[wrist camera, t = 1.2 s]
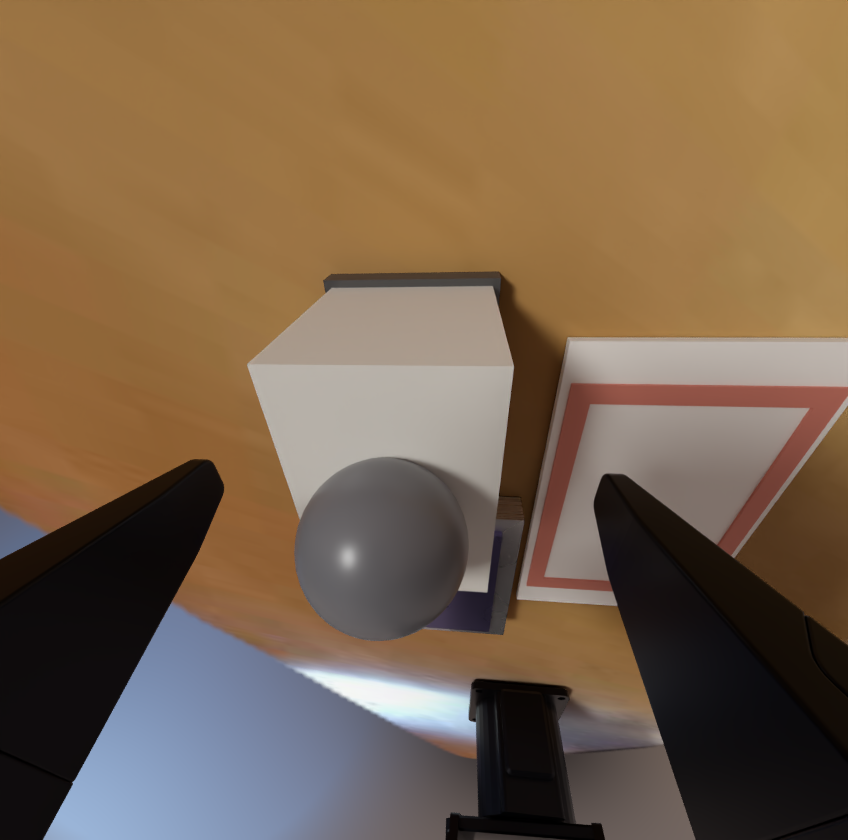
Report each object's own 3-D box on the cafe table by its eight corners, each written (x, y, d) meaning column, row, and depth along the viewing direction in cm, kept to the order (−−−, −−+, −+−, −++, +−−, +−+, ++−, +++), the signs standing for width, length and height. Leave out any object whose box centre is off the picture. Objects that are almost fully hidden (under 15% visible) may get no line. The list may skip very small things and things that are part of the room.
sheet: (691, 605, 18) (695, 613, 18) (516, 593, 19) (516, 601, 18) (884, 337, 10) (898, 343, 10) (567, 337, 11) (570, 342, 11)
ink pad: (501, 612, 20) (503, 640, 19) (359, 602, 21) (353, 628, 19) (520, 497, 15) (525, 525, 14) (331, 489, 16) (320, 515, 14)
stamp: (498, 270, 10) (569, 470, 3) (483, 456, 14) (503, 722, 7) (331, 273, 11) (102, 454, 4) (362, 453, 14) (274, 700, 8)
